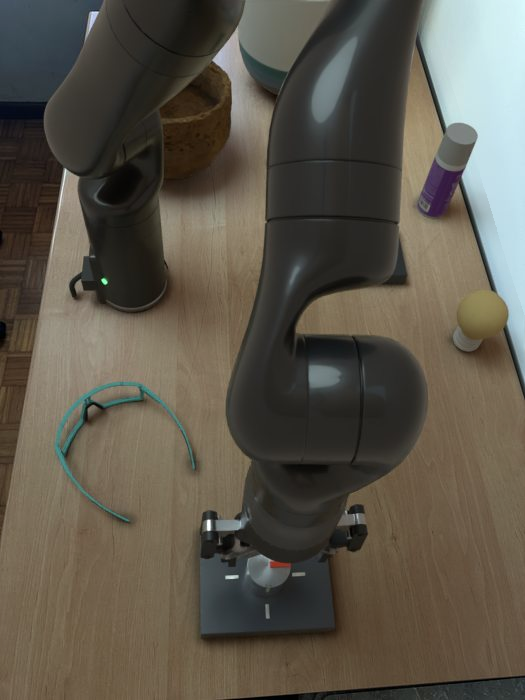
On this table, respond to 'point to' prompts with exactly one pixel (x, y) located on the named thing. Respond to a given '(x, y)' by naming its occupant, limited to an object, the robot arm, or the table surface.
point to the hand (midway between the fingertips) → (275, 554)
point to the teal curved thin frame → (90, 402)
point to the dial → (266, 575)
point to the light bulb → (479, 319)
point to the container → (446, 170)
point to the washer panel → (264, 601)
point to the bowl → (196, 123)
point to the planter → (276, 36)
